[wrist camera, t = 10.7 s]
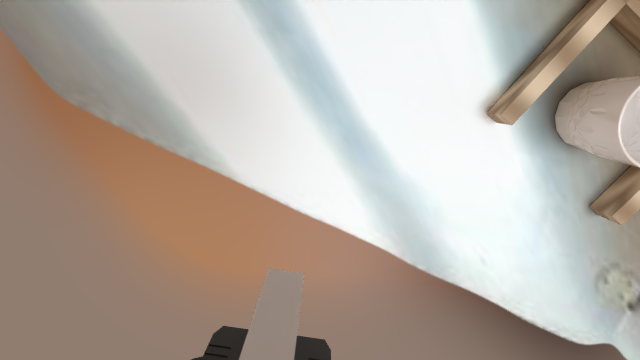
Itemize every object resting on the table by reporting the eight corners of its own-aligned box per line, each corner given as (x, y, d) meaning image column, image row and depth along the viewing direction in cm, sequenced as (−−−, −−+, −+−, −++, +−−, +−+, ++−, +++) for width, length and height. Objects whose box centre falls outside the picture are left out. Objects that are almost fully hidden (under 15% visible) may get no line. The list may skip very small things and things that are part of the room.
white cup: (611, 62, 40) (705, 51, 30) (636, 132, 41) (733, 144, 31) (537, 99, 40) (604, 100, 31) (563, 166, 42) (636, 188, 32)
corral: (598, 215, 43) (622, 225, 39) (486, 113, 41) (500, 114, 37) (714, 103, 40) (750, 104, 37) (600, -12, 38) (627, -23, 35)
